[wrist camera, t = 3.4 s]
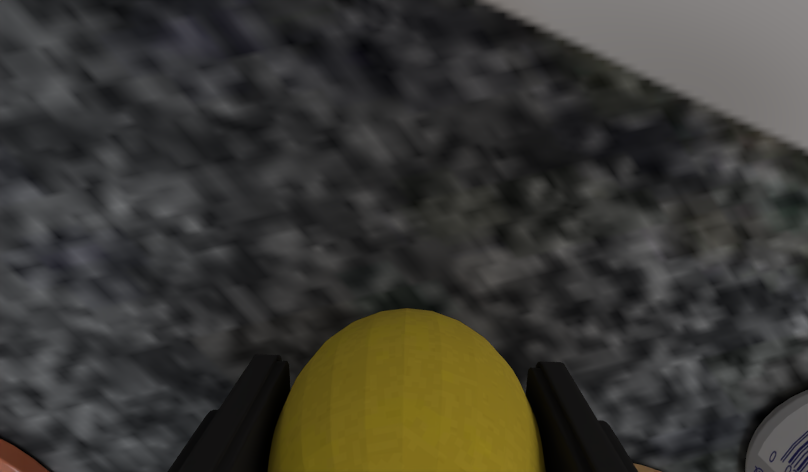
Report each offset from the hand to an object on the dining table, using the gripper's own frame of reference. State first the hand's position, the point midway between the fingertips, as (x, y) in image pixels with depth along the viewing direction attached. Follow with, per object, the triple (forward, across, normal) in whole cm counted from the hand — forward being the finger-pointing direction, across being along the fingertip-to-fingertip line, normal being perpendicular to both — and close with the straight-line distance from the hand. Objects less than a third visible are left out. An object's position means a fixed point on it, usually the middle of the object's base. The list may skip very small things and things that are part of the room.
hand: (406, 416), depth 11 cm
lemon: (+3, 0, 0) cm, 3 cm away
